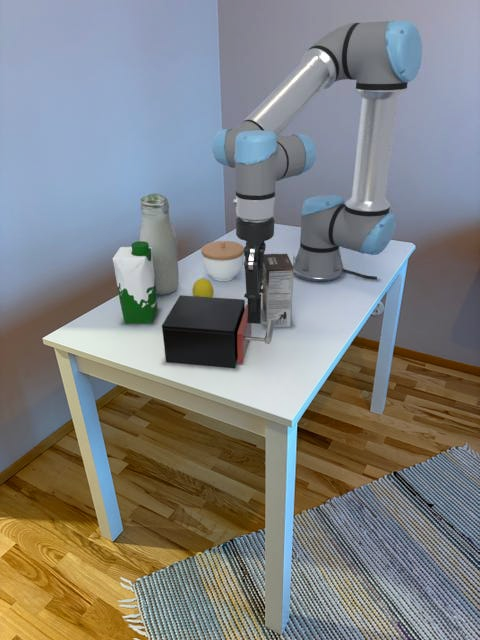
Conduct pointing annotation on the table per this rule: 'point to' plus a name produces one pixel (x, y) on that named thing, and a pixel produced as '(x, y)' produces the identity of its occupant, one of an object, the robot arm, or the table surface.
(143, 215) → the glass bottle
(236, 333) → the drawer
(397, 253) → the table surface
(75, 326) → the table surface
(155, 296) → the milk carton
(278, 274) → the coffee box
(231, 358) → the cabinet
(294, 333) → the table surface
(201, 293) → the lemon
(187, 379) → the table surface
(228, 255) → the lidded bowl
